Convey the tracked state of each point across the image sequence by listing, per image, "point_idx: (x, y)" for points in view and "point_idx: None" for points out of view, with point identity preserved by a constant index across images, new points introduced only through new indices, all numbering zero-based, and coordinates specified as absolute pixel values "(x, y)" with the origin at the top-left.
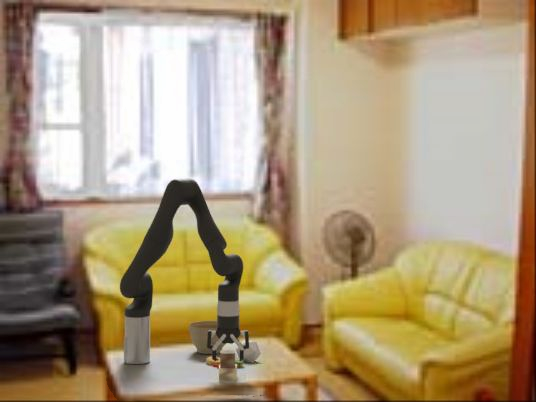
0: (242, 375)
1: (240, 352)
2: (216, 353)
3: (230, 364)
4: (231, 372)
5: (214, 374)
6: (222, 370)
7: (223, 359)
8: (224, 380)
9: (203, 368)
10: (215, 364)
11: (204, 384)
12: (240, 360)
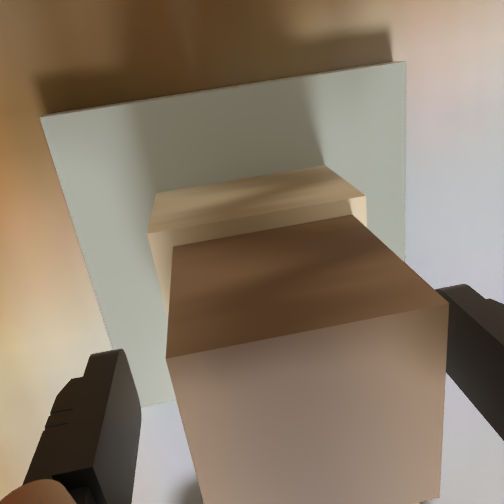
0: (142, 352)
1: (81, 444)
2: (482, 400)
3: (233, 255)
4: (211, 208)
5: None
6: (316, 195)
7: (349, 265)
8: (271, 167)
9: (448, 492)
10: None
11: (438, 103)
12: (106, 354)
